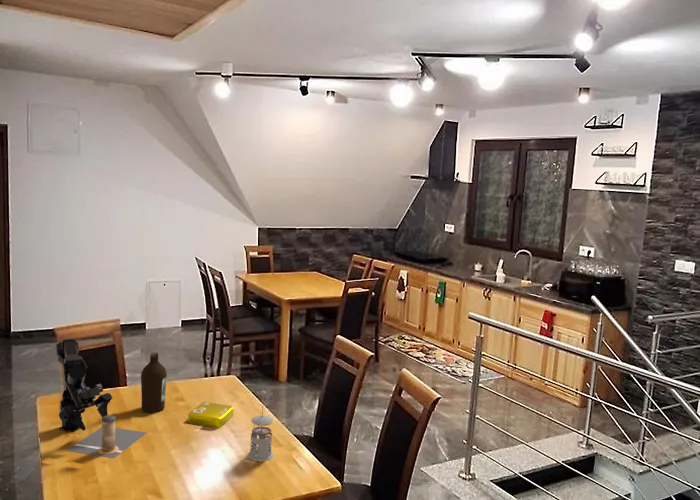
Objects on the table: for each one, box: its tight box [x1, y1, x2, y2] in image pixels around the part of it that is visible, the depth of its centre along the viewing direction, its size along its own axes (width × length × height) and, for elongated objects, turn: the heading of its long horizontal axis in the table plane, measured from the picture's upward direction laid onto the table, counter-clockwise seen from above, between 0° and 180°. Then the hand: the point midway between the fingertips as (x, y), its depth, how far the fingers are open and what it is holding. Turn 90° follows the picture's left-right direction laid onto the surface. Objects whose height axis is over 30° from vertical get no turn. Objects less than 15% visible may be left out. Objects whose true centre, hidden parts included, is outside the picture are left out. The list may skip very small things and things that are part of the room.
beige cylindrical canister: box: [101, 414, 117, 452], centre depth 206 cm, size 5×5×12 cm
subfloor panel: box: [65, 426, 147, 459], centre depth 213 cm, size 19×22×2 cm
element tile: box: [187, 401, 234, 429], centre depth 242 cm, size 15×15×5 cm
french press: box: [247, 390, 274, 463], centre depth 212 cm, size 10×12×25 cm
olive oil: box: [140, 351, 168, 414], centre depth 248 cm, size 11×11×25 cm
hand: (96, 425), depth 210 cm, fingers open, 9 cm apart
